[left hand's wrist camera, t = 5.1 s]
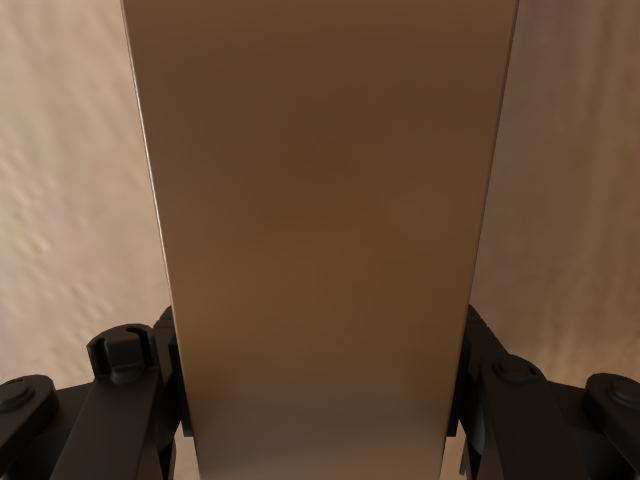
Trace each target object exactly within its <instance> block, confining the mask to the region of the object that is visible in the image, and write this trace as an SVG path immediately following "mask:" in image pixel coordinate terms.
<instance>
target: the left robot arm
mask: <svg viewBox="0 0 640 480" xmlns="http://www.w3.org/2000/svg"><path fill="white" fill-rule="evenodd" d="M86 347H87V351H88V354H89V358H90V361H91V365H92V369H93V372H94V376H95V379H94V381H93V382H91V383H87V384H83V385H78V386H74V387H69V388H65V389H60V390H55V387H54V384H53V380H51V379H50V378H49V377H48V376H44V375H29V376H23V377H19V378H17V379H13V380H10V381H7V382H6V383H4V384H2V385H0V480H173V477H174V468H175V460H176V444H175V439H174V435H175V433H176V430H177V428H178V426H179V424H180V421H181V422H182V428H183V433H184V437H193V432H192V426H191V420H190V414H189V408H188V402H187V396H186V390H185V384H184V378H183V372H182V366H181V361H180V355H179V349H178V343H177V337H176V331H175V325H174V319H173V313H172V307H171V306H169V307H168V308H167V309H166V310H165V311H164V313H163V314H162V315H161V317H160V319H159V320H158V321H157V322H156V323H155V325H154V326H153V328H151V327H149V326H148V325H143V324H126V325H121V326H117V327H114V328H111V329H109V330H106V331H104V332H102V333H100V334H99V335H97V336H96V337H94V338H93V339H92V340H91V341H90V342H89V343H88V345H87V346H86ZM459 420H460V422H461V425H462V427H463V429H464V431H465V434H466V439H465V444H464V449H463V454H462V459H461V465H460V471H459V474H460V475H464V473H465V468H466V476H467V480H640V383H638V382H636V381H634V380H632V379H630V378H627V377H624V376H620V375H616V374H608V373H599V374H593V375H592V376H590V377H589V378H588V380H587V383H586V386H585V389H583V388H578V387H574V386H569V385H564V384H560V383H555V382H551V381H548V380H546V378H545V376H544V375H543V374H542V372H541V371H540V369H539V368H537V367H536V366H535V365H533V364H532V363H531V362H529V361H527V360H525V359H523V358H521V357H518V356H515V355H511V354H508V352H507V351H506V350H505V348H504V347H503V346H502V344H501V343H500V342H499V340H498V339H497V338H496V337H495V335H494V334H493V333H492V331H491V330H490V329H489V327H487V325H486V323H485V322H484V321H483V319H481V318H480V315H479V314H478V313H477V311H476V310H475V309H474V308H473V306H471V305H470V304H469V305H468V311H467V317H466V323H465V329H464V335H463V341H462V347H461V352H460V358H459V364H458V370H457V376H456V382H455V388H454V394H453V400H452V406H451V412H450V418H449V424H448V430H447V436H446V437H456V432H457V426H458V421H459Z"/></svg>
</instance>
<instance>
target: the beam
mask: <svg viewBox="0 0 640 480" xmlns="http://www.w3.org/2000/svg"><path fill="white" fill-rule="evenodd" d="M120 3H121V9H122V15H123V20H124V26H125V32H126V38H127V44H128V50H129V56H130V62H131V68H132V74H133V80H134V86H135V92H136V98H137V104H138V110H139V116H140V122H141V128H142V134H143V140H144V146H145V152H146V158H147V164H148V170H149V176H150V182H151V188H152V193H153V199H154V205H155V211H156V217H157V223H158V229H159V235H160V241H161V247H162V253H163V259H164V265H165V271H166V277H167V283H168V289H169V295H170V301H171V307H172V313H173V319H174V325H175V331H176V337H177V343H178V349H179V355H180V361H181V366H182V372H183V378H184V384H185V390H186V396H187V402H188V408H189V414H190V420H191V426H192V432H193V438H194V444H195V450H196V456H197V462H198V468H199V474H200V480H439V478H440V472H441V466H442V460H443V454H444V448H445V442H446V436H447V430H448V424H449V418H450V412H451V406H452V400H453V394H454V388H455V382H456V376H457V370H458V364H459V358H460V352H461V347H462V341H463V335H464V329H465V323H466V317H467V311H468V305H469V299H470V293H471V287H472V281H473V275H474V269H475V263H476V257H477V251H478V245H479V239H480V233H481V227H482V221H483V215H484V209H485V203H486V197H487V191H488V185H489V179H490V173H491V167H492V161H493V155H494V149H495V143H496V137H497V131H498V125H499V119H500V113H501V107H502V101H503V95H504V89H505V83H506V77H507V71H508V65H509V59H510V53H511V47H512V41H513V35H514V30H515V24H516V18H517V12H518V6H519V0H120Z"/></svg>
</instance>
